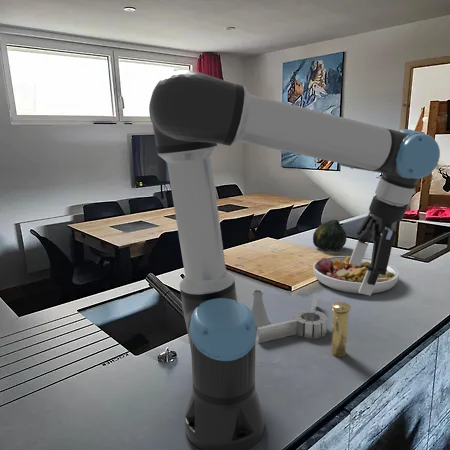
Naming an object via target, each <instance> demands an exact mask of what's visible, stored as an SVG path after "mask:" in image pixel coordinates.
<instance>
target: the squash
mask: <svg viewBox="0 0 450 450" xmlns="http://www.w3.org/2000/svg"><path fill="white" fill-rule="evenodd" d="M346 242H347V233H346V231H345V229H344V227H343V226H342V224H341V222H340V221H339V220H338V219H332V220H329V221H326V222H324V223H322V224H320V225H319V226H317V228H315V230H314V231H313V235H312V243H313V245H314V247H316V248H317V249H319V248H320V250H327V251H328V250H331V251H332V250H333V251H340V250H342V249H343V247H344V246H345V245H346Z"/></svg>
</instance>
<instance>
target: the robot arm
mask: <svg viewBox="0 0 450 450" xmlns="http://www.w3.org/2000/svg"><path fill="white" fill-rule="evenodd" d="M148 107H149V108H148V111H149V112H148V113H149V119H150V121H151V123H152V128H153V134H154V139H155V140H154V141H155V146H156V153H157V156H159V157H160V158H161V159H162V160H164V161H165V162H166V166H167V171H168V177H169V183H170V190H171V195H172V196H171V197H172V203H173V208H174V213H175V219H176V220H175V221H176V226H177V233H178V239H179V244H180V251H181V257H182V264H183V269H184V275H185V276H184V277H183V279H181V281H180V283H179V291H180V295H181V296H180V297H181V303H182V304H181V305H182V306H181V309H182V315H183V318H184V321H185V325H186V326H185V327H186V331H187V337H188V341H189V346H190V352H191V353H190V354H191V371H192V372H191V374H192V375H191V377H192V378H191V379H192V390H191V394H190V397H189V399H188V403H187V406H186V409H185V412H184V431H185V434H186V437H187V439H188V440H189V441H190V442H191V444H193V445H194V446H195V447H196V448H197V449H199V450H249V449H250V448H253V446H255V445H256V444H257V443H258V441H260V439H261V438H262V436H263V434H264V430H265V412H264V408H263V406H262V403H261V400H260V398H259V395H258V392H257V390H256V343H257V328H256V325H255V318H254V315H253V313H252V311H251V310H250V308H249V307H248V306H247V305H246V304H245V303H242V302H238V296H237V291H236V290H237V289H236V283H235V276H234V275H233V273H231V272H229V271H228V270H227V268H226V261H225V254H224V245H223V240H222V239H223V238H222V230H221V223H220V215H219V208H218V201H217V195H216V194H217V193H216V192H217V191H216V186H215V178H214V171H213V170H214V169H213V162H212V157H213V156H212V155H213V154H214V153H215V151H216V150H217V149H218V144H219V145H224V146H228V147H232V146H234V145H236V143H238V142H240V143H245V144H248V145H254V146H259V147H261V148H262V147H263V148H266V149H267V148H268V149H271V150H276V151H282V152H285V153H286V152H287V153H290V154H295V155H296V154H297V155H300V156H305V157H310V158H315V159H319V160H324V161H327V162H328V161H329V162H333V163H338V165H340V166H342V167H346V168H350V169H352V170H353V169H356V170H361V171H368V172H369V171H370V172H372V173H378V174H379V173H380V174H381V176H380V178H379V180H378V183H377V186H376V189H375V192H374V194H375V195H373V197H372V199H371V202H370V205H369V206H368V207H369V208H368V211H369V212H368V214H367V216H366V218H365V219H364V221H363V222H362V224H361V225H360V227H359V228H358V230H357V232H356V235H357V241H356V244H355V246H354V248H353V251H352V254H351V255H350V256H351V259H350V261H349V264H352V265H356V266H360V264H361V261H362V259H363V257H364V256H365V253H366V251H367V248H368V247H369V244H370V243H371V241H372V243H373V245H372V252H371V258H370V259H371V266H370V267H368V268H367V272H366V274H365V277H364V279H363V282H362V284H361V287H360V289H359V293H361V295H366V296H370V297H371V295H372V294H373V293H372V291H373V289H374V287H375V284H376V282H377V280H378V278H379V275H380V274H381V275H385V274H386V271H387V266H388V264H389V261H390V256H391V254H392V253H391V252H392V248H393V242H394V241H395V237H396V235H397V231H395V230H392V227H393V224H394V223H398V222H401V221H402V220H403V218H404V216H405V214H406V211H407V210H408V206H407V205H408V204H410V202H411V200H412V197H413V195H415V194H416V193H417V192H416V188H417V187H418V186H417V185H418V183H419V181H420V179H423V178H426V177H428V176H430V175H431V174H432V172H434V170H436V168H437V166H438V164H439V159H440V158H441V157H440V155H441V153H440V152H441V149H440V146H439V143H438V142H437V140H436V139H434V137H432V135H430V134H427V133H425V132H421V131H417V130H414V129H407V128H402V129H399V130H394V129H389V128H386V127H383V126H379V125H375V124H370V123H367V122H362V121H360V120H359V121H358V120H355V119H351V118H347V117H341V116H338V115H334V114H330V113H325V112H323V111H318V110H314V109H310V108H308V107H307V108H305V107H302V106H298V105H294V104H290V103H287V102H281V101H278V100H274V99H270V98H267V97H266V98H265V97H262V96H257V95H254V94H251V93H250V92H249V90H248V88H246V86H245V85H243V84H242V85H241V84H237V83H234V82H230V81H227V80H223V79H221V78H219V77H218V78H217V77H214V76H211V75H208V74H205V73H204V72H203V73H202V72H199V71H196V70H191V69H180V70H175V71H172V72H170V73H168V74H166V75H165V76H163V77H162V78H161V79H160V80H159V81H158V82H157V84H156V85H155V87H154V89H153V90H152V94H151V97H150V101H149V106H148ZM364 258H365V257H364ZM359 293H358V294H359Z"/></svg>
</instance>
